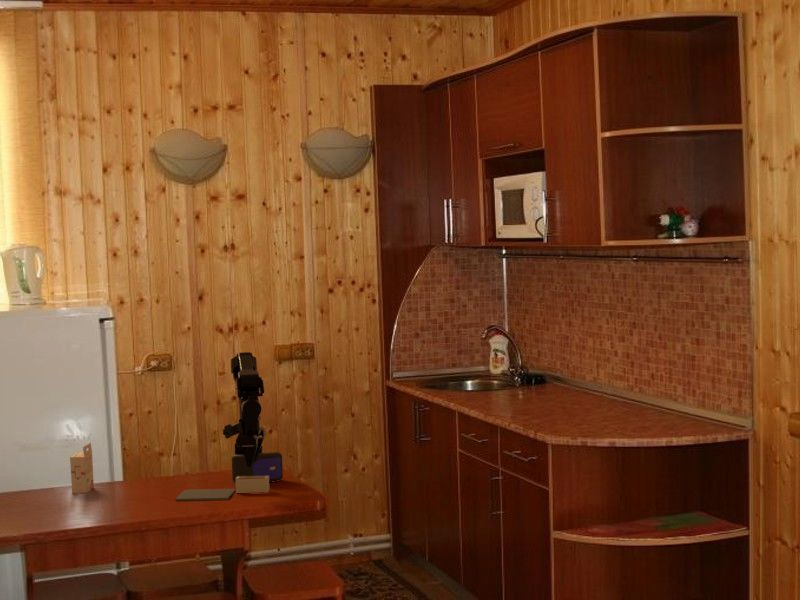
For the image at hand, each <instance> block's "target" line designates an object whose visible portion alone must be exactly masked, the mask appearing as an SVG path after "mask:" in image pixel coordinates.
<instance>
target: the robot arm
mask: <svg viewBox="0 0 800 600" xmlns="http://www.w3.org/2000/svg"><path fill="white" fill-rule="evenodd" d="M257 363H258V362H257V357H255V356H254V355H253V352H251V351H248V352H247V351H243V352H237V353H236V355H235V356H234V357H232V358H231V359H230V374H232V379H233V381H234V383H235V384H236V386H235V387H236V394H237V398H238V407H239V410H238V411H239V419H238V422H236V423H233V424H231V423H228V424H226V425H224V427H223V428H222V429H221V430H222V435H223V436H224V437H225V440H227V439H230V438H232V437H233V436H237V437H236V438H235V443H234V445H233V446H234V447H233V448H234V449H233V456H234V455H236V454H244V456H245V460H246V463H247V467H251V466H252V462H253V461H256V459H257V457H258V454H259V453H263V442H264V441H265V440H264V439H265V436H266V429H265V428H264V427H263V426H261V425H260V420H261V418H262V417H261V413H262V406H261V403H260V400H259V399H260V398H259V397H263V394H265V385H264V380H263V379H262V376H260V374H259V372H258V371H257V370H258V365H257Z"/></svg>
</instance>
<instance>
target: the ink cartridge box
mask: <svg viewBox="0 0 800 600" xmlns="http://www.w3.org/2000/svg"><path fill="white" fill-rule="evenodd" d="M82 449H83V452H82V451H81V452H76V453H75V454H73V455H71V456H70V457H69V462H70V463H69V464H70V476H71V477H70V479H71V494H87V493H89V492H90V491H92V489H93V488H94V487H95V485H94V465H93V462H94V461H93V449H92V443H91V442H90V443H88V444H86V445H84V446H83V447H82ZM87 449H88V450H87Z"/></svg>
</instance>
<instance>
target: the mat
mask: <svg viewBox="0 0 800 600" xmlns="http://www.w3.org/2000/svg"><path fill="white" fill-rule="evenodd" d="M234 491H235V492H236V488H213V489H212V488H210V489H208V488H207V489H204V488H203V489H184V490H183V491H182V492H181V493H180V494H178V496H177V497H175V501H176V502H178V501H179V502H180V501H181V502H182V501H189V502H190V501H191V502H192V501H227V500H229V499H230V498H231V497H232V495H233V494H234V493H235V492H234ZM233 492H234V493H233ZM230 496H231V497H230ZM229 497H230V498H229Z"/></svg>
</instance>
